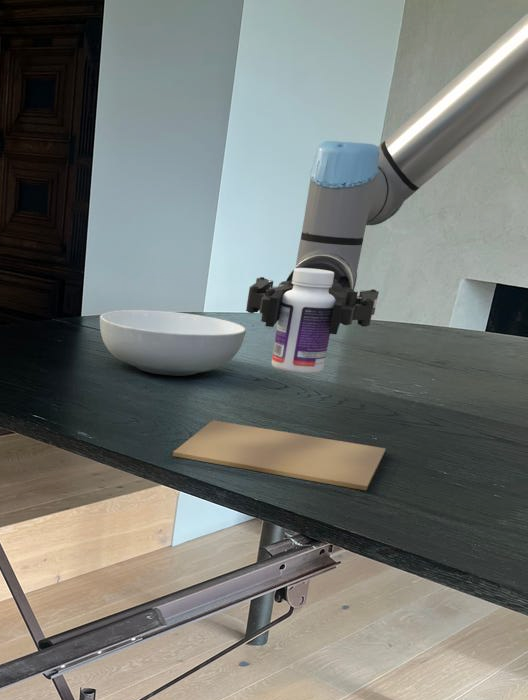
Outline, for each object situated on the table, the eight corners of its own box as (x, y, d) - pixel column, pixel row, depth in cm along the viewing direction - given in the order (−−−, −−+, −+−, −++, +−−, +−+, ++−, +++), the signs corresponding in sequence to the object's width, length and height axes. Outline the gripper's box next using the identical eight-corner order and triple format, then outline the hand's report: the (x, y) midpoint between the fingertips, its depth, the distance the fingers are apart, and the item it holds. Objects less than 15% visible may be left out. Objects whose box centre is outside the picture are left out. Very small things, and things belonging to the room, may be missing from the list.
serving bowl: (267, 384, 140) (275, 334, 136) (134, 387, 132) (139, 335, 129) (194, 354, 157) (200, 308, 153) (73, 355, 149) (76, 308, 146)
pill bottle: (329, 369, 104) (349, 271, 100) (313, 376, 100) (332, 275, 96) (281, 360, 107) (297, 265, 102) (262, 367, 103) (279, 268, 98)
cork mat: (385, 452, 111) (386, 448, 111) (366, 491, 98) (367, 486, 97) (211, 424, 117) (212, 419, 117) (172, 456, 104) (173, 451, 104)
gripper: (392, 331, 116) (392, 367, 96) (235, 313, 120) (204, 343, 100) (407, 263, 112) (410, 285, 92) (245, 247, 117) (214, 265, 97)
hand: (303, 315), depth 96 cm, fingers closed on pill bottle, 5 cm apart
